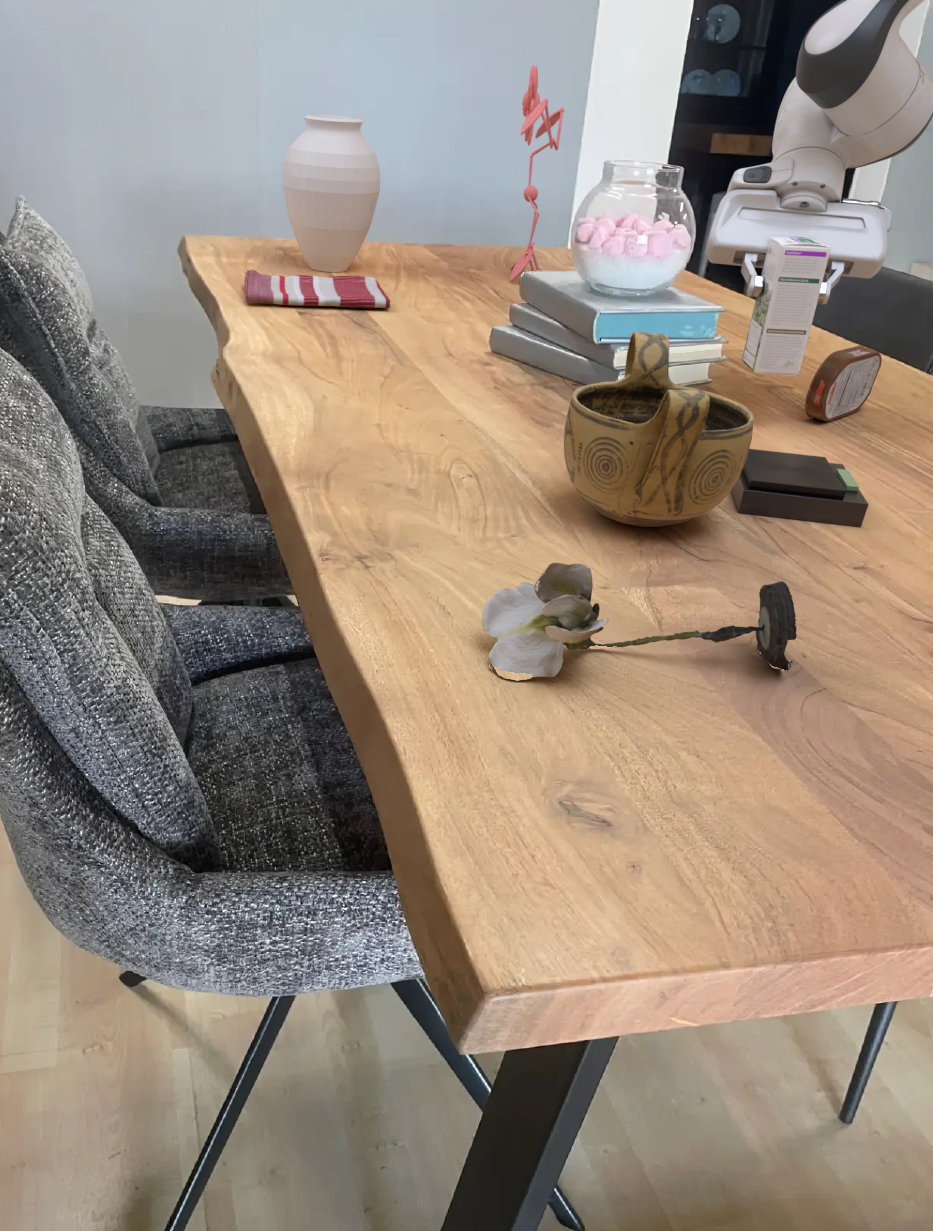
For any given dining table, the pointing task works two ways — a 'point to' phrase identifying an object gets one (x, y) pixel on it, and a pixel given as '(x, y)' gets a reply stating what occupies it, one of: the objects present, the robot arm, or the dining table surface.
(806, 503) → the scale
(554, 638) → the artificial flower
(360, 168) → the vase
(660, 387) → the ceramic bowl
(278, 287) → the dish towel
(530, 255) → the figurine
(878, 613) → the dining table surface
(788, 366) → the syrup box
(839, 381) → the tin
